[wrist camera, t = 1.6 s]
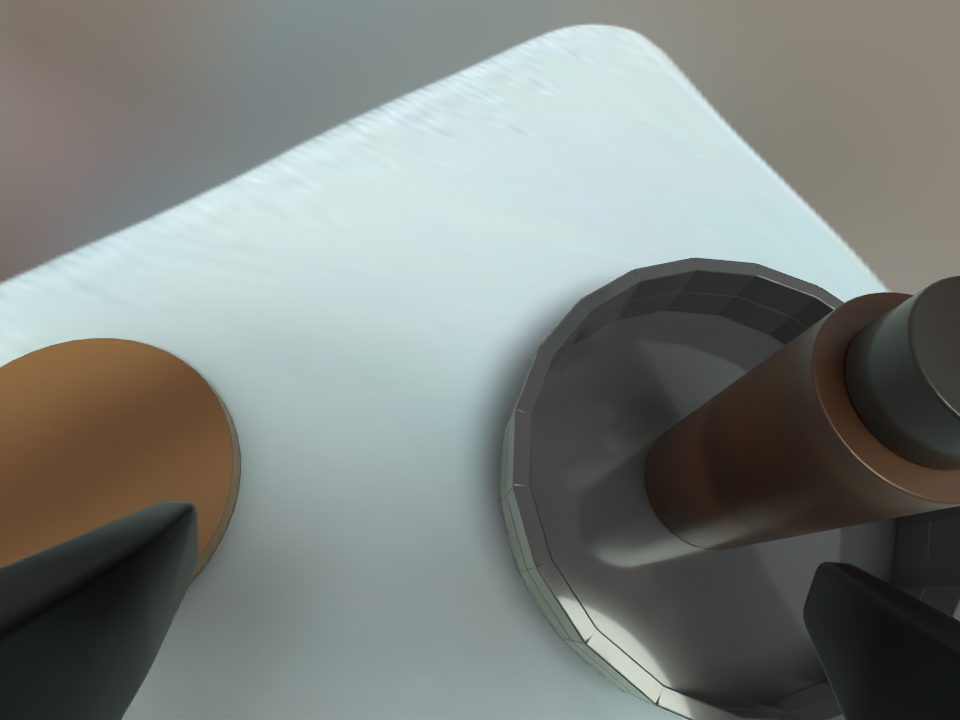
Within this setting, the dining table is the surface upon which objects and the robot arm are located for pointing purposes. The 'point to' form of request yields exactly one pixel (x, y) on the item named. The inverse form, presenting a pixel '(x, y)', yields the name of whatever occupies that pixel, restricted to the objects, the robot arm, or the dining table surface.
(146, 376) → the disc
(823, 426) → the pepper mill
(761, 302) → the pan
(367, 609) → the dining table surface
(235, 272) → the dining table surface
